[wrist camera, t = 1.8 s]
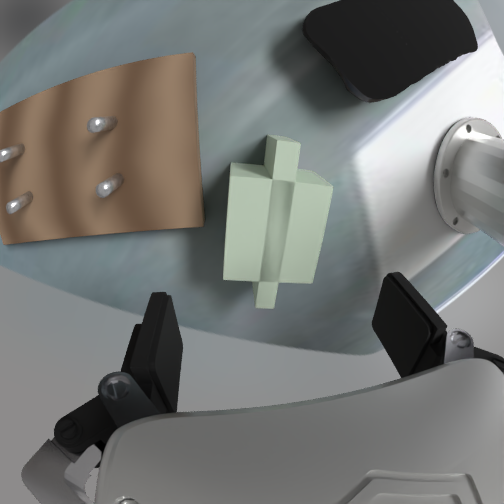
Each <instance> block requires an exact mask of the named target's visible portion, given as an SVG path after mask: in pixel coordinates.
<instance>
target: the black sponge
mask: <svg viewBox="0 0 504 504" xmlns="http://www.w3.org/2000/svg"><path fill="white" fill-rule="evenodd" d="M303 33H304V36H305V37H306V38H307V39H308V40H309V41H310V43H311V44H312V45H313V46H314V47H315V48H316V49H317V50H318V51H319V52H320V53H321V54H322V55H323V56H324V57H325V58H326V59H327V60H328V61H329V62H330V63H331V64H332V65H333V66H334V67H335V69H336V70H337V72H338V73H339V75H340V76H341V78H342V80H343V81H344V83H345V86H346V88H347V90H348V91H349V92H351V93H352V94H353V95H355V96H356V97H358V98H359V99H361V100H363V101H365V102H369V103H371V102H378V101H381V100H384V99H388V98H391V97H394V96H396V95H397V94H399V93H400V92H402V91H403V90H405V89H406V88H408V87H409V86H410V85H411V84H414V83H416V82H418V81H420V80H421V79H422V78H423V77H425V76H426V75H428V74H430V73H431V72H433V71H435V70H436V69H437V68H440V67H441V66H444V65H445V64H447V63H449V62H450V61H453V60H456V59H457V57H459V56H461V55H463V54H467V53H470V52H475V51H476V50H477V49H478V44H477V41H476V37H475V34H474V30H473V28H472V25H471V23H470V21H469V19H468V17H467V16H466V15H465V13H464V12H463V11H462V9H461V8H460V7H459V6H458V5H457V4H456V3H455V2H454V1H453V0H340V1H337V2H334V3H331V4H328V5H325V6H322V7H318V8H316V9H314V10H312V11H311V12H310V13H309V14H308V15H307V16H306V19H305V21H304V23H303Z"/></svg>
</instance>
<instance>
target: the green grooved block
mask: <svg viewBox="0 0 504 504" xmlns="http://www.w3.org/2000/svg"><path fill="white" fill-rule="evenodd" d="M300 145H301V143H299V142H297V141H294V140H292V139H290V138H287V137H283V136H275V135H267V142H266V150H265V159H264V165H255V164H244V163H231V165H230V177H229V190H228V203H227V216H226V231H225V246H224V269H223V280H237V281H252V285H253V293H254V302H255V308H264V309H274V305H275V300H276V294H277V289H278V283H279V282H281V283H309V284H312V282H313V278H314V274H315V270H316V266H317V262H318V258H319V253H320V249H321V245H322V240H323V236H324V231H325V226H326V222H327V217H328V212H329V207H330V202H331V197H332V192H333V186H332V185H331V184H329V183H328V182H327V181H325V180H324V179H323V178H322V177H320V176H319V175H318V174H316V173H315V172H314V171H309V170H302V169H297V167H298V160H299V153H300Z"/></svg>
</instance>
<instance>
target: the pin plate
mask: <svg viewBox="0 0 504 504" xmlns="http://www.w3.org/2000/svg"><path fill="white" fill-rule="evenodd" d="M204 222H205V212H204V201H203V189H202V176H201V163H200V148H199V132H198V113H197V90H196V57H195V55H194V54H193V53H184V54H177V55H170V56H164V57H158V58H152V59H147V60H142V61H137V62H133V63H128V64H124V65H120V66H116V67H112V68H109V69H105V70H101V71H98V72H95V73H91V74H88V75H85V76H82V77H79V78H76V79H73V80H70V81H68V82H65V83H62V84H60V85H57V86H54V87H52V88H50V89H47V90H45V91H42V92H40V93H38V94H36V95H33V96H31V97H29V98H27V99H25V100H23V101H21V102H19V103H17V104H15V105H13V106H11V107H9V108H7V109H5V110H3V111H1V112H0V235H1V238H2V241H3V244H4V245H7V244H15V243H23V242H32V241H41V240H50V239H59V238H69V237H79V236H89V235H100V234H111V233H123V232H135V231H148V230H161V229H175V228H190V227H204Z"/></svg>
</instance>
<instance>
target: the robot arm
mask: <svg viewBox="0 0 504 504" xmlns="http://www.w3.org/2000/svg"><path fill="white" fill-rule="evenodd" d="M434 193H435V200H436V204H437V208H438V210H439V213H440V215H441V217H442V218H443V220H444V221H445V223H447V224H448V225H449V226H450V227H451V228H453V229H454V230H456V231H457V232H459V233H463V234H472V233H475V232H478V231H479V230H481V231H483V232H484V233H486V234H487V235H488V236H490V237H491V238H493V239H494V240H495V241H497V242H498V243H499V244H501V245H502V246H503V247H504V140H503V139H502V137H501V135H500V134H499V132H498V131H497V129H496V128H495V127H494V126H493V125H492V124H491V123H489V122H488V121H486V120H484V119H480V118H473V117H468V118H465V119H462V120H460V121H459V122H457V123H456V124H455V125H454V126H453V127H452V128H451V129H450V130H449V131H448V133H447V134H446V136H445V138H444V139H443V142H442V144H441V146H440V149H439V152H438V156H437V159H436V164H435V171H434ZM372 327H373V330H374V331H375V333H376V335H377V336H378V338H379V340H380V341H381V343H382V345H383V346H384V348H385V350H386V352H387V353H388V355H389V357H390V358H391V360H392V362H393V364H394V366H395V367H396V369H397V371H398V373H399V374H400V376H401V378H400V379H397V380H394V381H390V382H387V383H383V384H380V385H376V386H372V387H368V388H364V389H361V390H356V391H352V392H348V393H343V394H338V395H334V396H329V397H324V398H318V399H313V400H307V401H301V402H294V403H288V404H281V405H273V406H264V407H255V408H243V409H231V410H216V411H196V412H195V411H194V412H177V402H178V391H179V380H180V370H181V361H182V352H183V343H182V338H181V335H180V331H179V327H178V323H177V319H176V315H175V310H174V306H173V302H172V298H171V295H167V294H166V292H153V293H152V294H151V297H150V300H149V303H148V306H147V309H146V312H145V315H144V319H143V322H142V324H136V325H135V327H134V329H133V332H132V336H131V339H130V342H129V345H128V348H127V351H126V355H125V358H124V362H123V365H122V368H121V372H113V373H110V374H108V375H106V376H105V377H103V379H102V380H101V381H100V383H99V385H98V394H99V395H98V396H96V397H95V398H93V399H92V400H90V401H88V402H87V403H85V404H84V405H82V406H80V407H79V408H77V409H76V410H74V411H72V412H70V413H69V414H67V415H66V416H64V417H62V418H61V419H60V420H59V421H58V422H57V423H56V425H55V429H54V436H55V437H54V438H53V439H52V440H50V439H48V440H47V441H46V442H45V443H44V444H43V445H42V447H41V448H40V449H39V450H38V451H37V452H36V453H35V454H34V456H33V457H32V458H31V459H30V460H29V461H28V462H27V463H26V464H25V466H24V467H23V469H22V473H21V476H22V481H23V483H24V484H25V486H26V487H27V488H28V489H29V490H30V492H31V493H32V494H33V495H34V496H35V498H36V499H37V500H38V501H39V502H40V503H41V504H504V358H502V357H501V356H499V355H496V354H493V353H490V352H488V351H485V350H482V349H479V348H476V347H474V342H473V339H472V337H471V336H470V335H469V334H468V333H467V332H466V331H464V330H462V329H457V328H455V329H451V330H449V331H448V333H447V331H446V328H447V325H446V324H445V323H444V321H443V320H442V319H441V318H440V317H439V315H438V314H437V313H436V312H435V311H434V309H433V308H432V307H431V306H430V305H429V304H428V302H427V301H426V300H425V299H424V298H423V297H422V296H421V294H420V293H419V292H418V291H417V290H416V289H415V288H414V287H413V286H412V284H411V283H410V282H409V281H408V280H407V279H406V278H405V277H404V276H403V275H402V274H401V273H400V272H394V273H388V274H387V276H386V277H385V278H384V279H383V283H382V287H381V291H380V295H379V299H378V302H377V306H376V310H375V313H374V317H373V320H372ZM176 412H177V413H176ZM99 467H100V468H99ZM93 468H99V473H98V479H97V486H96V494H95V503H94V502H93V501H92V500H90V498H89V497H88V496H87V495H86V492H85V484H86V482H87V480H88V478H89V477H90V476H91V475H90V474H89V473H90V472H91V471H92V470H93ZM134 500H136V501H134Z"/></svg>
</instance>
